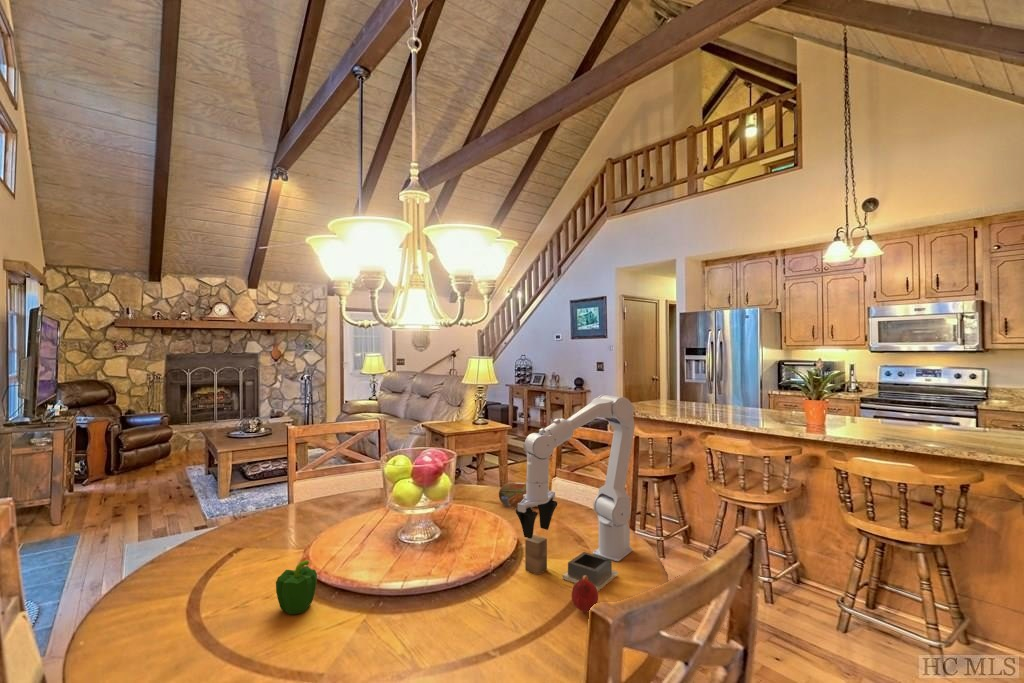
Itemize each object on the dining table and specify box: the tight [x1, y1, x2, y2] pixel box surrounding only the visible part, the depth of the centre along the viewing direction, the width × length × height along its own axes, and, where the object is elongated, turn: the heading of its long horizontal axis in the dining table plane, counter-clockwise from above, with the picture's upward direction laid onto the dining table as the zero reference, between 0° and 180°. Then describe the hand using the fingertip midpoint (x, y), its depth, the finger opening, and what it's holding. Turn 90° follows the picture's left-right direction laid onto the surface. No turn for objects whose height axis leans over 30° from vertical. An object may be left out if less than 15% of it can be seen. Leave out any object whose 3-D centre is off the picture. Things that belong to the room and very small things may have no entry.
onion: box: [571, 575, 599, 614], centre depth 108 cm, size 6×6×8 cm
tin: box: [498, 481, 527, 508], centre depth 178 cm, size 15×3×8 cm, turn 80°
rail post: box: [524, 534, 548, 576], centre depth 129 cm, size 4×4×8 cm
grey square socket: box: [561, 551, 618, 592], centre depth 125 cm, size 10×10×4 cm
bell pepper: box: [275, 559, 318, 616], centre depth 110 cm, size 8×8×10 cm
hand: (536, 532), depth 128 cm, fingers open, 7 cm apart
